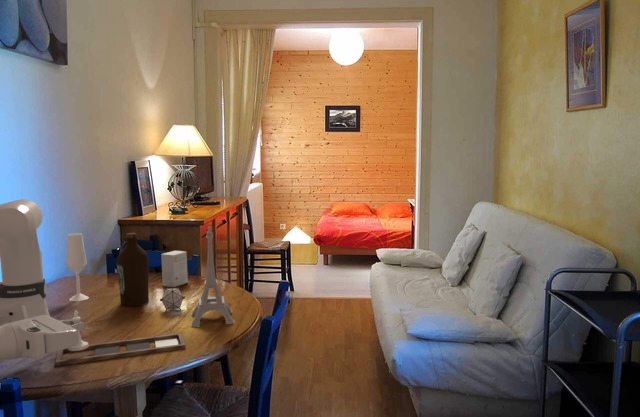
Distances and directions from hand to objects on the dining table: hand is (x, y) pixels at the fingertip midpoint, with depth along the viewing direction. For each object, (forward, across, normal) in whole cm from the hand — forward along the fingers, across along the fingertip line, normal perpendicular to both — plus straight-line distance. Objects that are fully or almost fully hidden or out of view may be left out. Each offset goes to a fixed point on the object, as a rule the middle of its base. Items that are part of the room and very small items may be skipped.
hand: (80, 323), depth 139 cm
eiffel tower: (+41, +2, -9) cm, 42 cm away
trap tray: (+9, +5, -9) cm, 13 cm away
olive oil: (+34, -34, -9) cm, 49 cm away
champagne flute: (+23, -54, -9) cm, 60 cm away
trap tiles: (+9, +5, -9) cm, 13 cm away
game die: (+38, -16, -9) cm, 42 cm away
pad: (+19, +10, -9) cm, 23 cm away
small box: (+58, -45, -9) cm, 74 cm away
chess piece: (-1, 0, -6) cm, 7 cm away
